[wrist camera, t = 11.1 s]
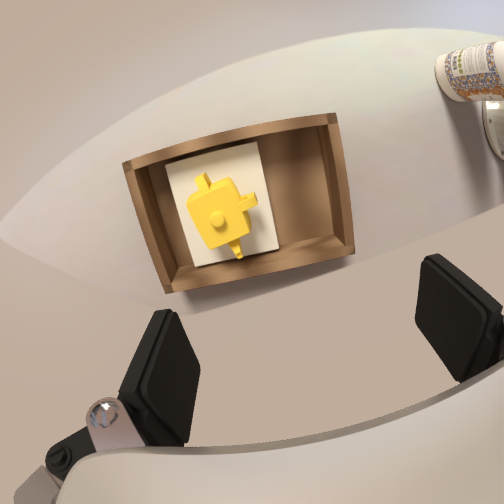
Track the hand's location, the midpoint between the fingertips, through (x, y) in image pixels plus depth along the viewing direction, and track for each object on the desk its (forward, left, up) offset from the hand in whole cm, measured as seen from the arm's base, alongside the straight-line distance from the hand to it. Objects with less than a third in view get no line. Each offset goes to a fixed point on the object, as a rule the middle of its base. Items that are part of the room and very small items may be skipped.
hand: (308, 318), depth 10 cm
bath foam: (-29, -13, -22) cm, 38 cm away
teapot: (+4, -1, -19) cm, 19 cm away
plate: (+4, -1, -22) cm, 22 cm away
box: (+2, -1, -22) cm, 22 cm away
